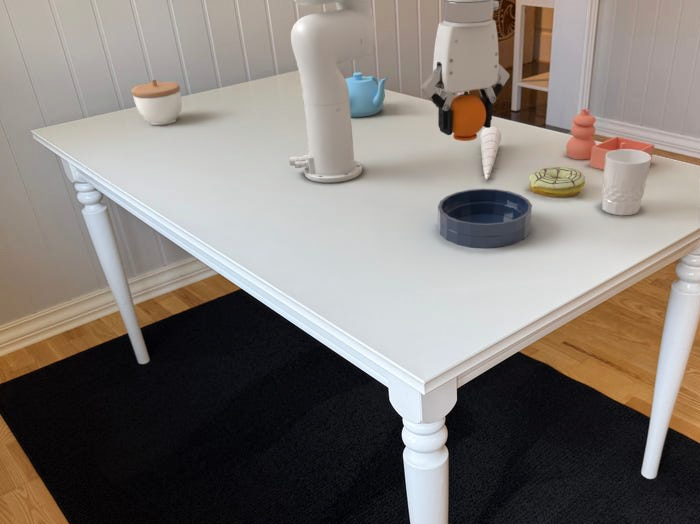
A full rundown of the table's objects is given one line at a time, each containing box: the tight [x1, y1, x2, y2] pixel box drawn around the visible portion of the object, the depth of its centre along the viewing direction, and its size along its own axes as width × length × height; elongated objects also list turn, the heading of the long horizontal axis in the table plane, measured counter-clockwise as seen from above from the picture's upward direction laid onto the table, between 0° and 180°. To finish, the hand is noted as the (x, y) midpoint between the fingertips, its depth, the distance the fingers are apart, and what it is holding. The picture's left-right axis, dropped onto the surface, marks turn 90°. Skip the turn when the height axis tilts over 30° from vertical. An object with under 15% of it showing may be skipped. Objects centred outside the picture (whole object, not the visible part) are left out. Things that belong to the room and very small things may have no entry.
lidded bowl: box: [130, 78, 183, 126], centre depth 186 cm, size 13×13×11 cm
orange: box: [450, 91, 486, 142], centre depth 114 cm, size 7×7×7 cm
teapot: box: [344, 71, 389, 118], centre depth 186 cm, size 15×15×10 cm
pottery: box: [565, 108, 655, 171], centre depth 147 cm, size 18×10×10 cm, turn 43°
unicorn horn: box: [479, 126, 502, 180], centre depth 150 cm, size 5×24×5 cm, turn 168°
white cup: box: [601, 149, 652, 216], centre depth 125 cm, size 8×8×10 cm
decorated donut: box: [528, 166, 586, 199], centre depth 135 cm, size 10×11×4 cm
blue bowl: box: [437, 188, 533, 249], centre depth 121 cm, size 16×16×5 cm
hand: (465, 128), depth 115 cm, fingers closed on orange, 6 cm apart
